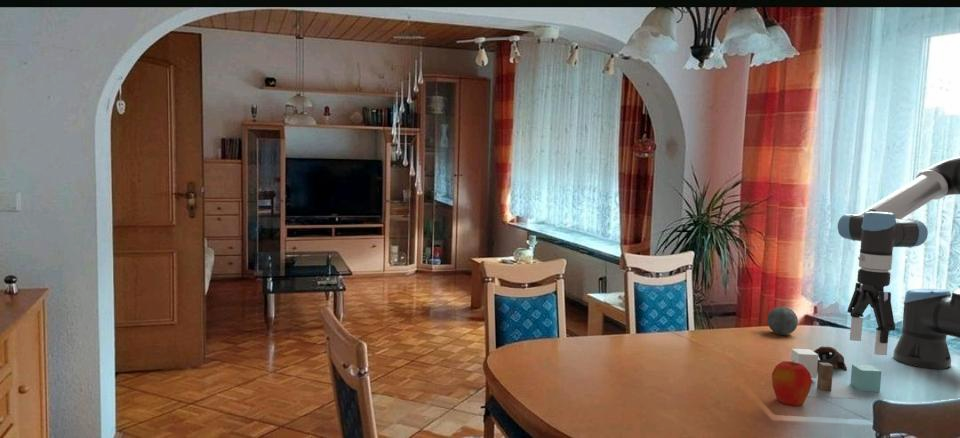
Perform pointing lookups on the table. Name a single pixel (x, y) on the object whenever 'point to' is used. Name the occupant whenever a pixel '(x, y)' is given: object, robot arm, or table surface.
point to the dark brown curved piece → (830, 357)
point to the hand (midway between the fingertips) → (867, 347)
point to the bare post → (825, 376)
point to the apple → (791, 383)
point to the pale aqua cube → (865, 378)
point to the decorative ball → (782, 320)
